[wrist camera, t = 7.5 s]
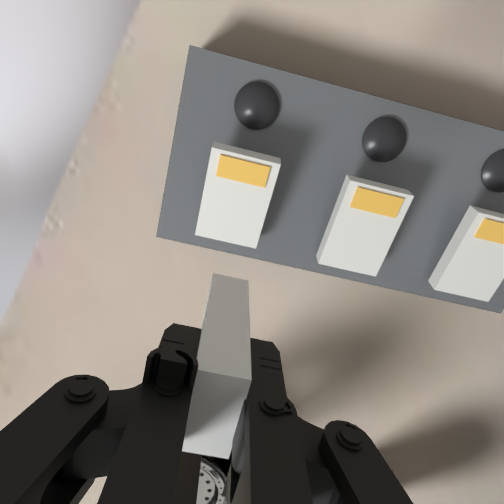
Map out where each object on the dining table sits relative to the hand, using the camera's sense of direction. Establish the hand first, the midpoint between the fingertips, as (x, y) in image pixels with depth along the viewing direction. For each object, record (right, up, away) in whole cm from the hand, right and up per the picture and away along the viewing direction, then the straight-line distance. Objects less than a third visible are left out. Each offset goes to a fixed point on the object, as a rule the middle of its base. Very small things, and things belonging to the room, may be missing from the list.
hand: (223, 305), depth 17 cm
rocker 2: (+18, +2, +12) cm, 21 cm away
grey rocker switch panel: (+9, +7, +15) cm, 19 cm away
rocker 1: (0, +6, +10) cm, 11 cm away
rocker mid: (+9, +4, +11) cm, 14 cm away
